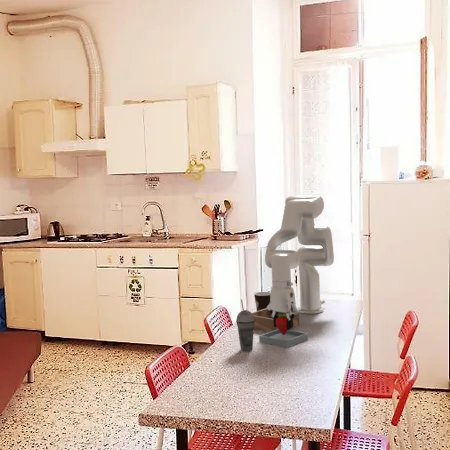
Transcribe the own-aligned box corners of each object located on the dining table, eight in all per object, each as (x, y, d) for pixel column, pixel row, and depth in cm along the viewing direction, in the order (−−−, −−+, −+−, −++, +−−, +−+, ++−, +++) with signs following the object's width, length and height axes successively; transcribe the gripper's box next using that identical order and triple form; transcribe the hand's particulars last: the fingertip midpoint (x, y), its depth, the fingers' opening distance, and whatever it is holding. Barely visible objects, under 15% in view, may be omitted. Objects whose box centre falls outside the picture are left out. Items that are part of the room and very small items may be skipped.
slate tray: (281, 333, 251) (280, 328, 251) (308, 339, 241) (307, 333, 241) (259, 341, 241) (259, 335, 241) (286, 347, 231) (286, 341, 231)
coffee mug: (273, 315, 282) (272, 295, 281) (255, 316, 282) (254, 295, 281) (272, 310, 293) (271, 290, 292) (254, 310, 293) (253, 290, 292)
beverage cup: (254, 352, 227) (252, 301, 225) (235, 352, 228) (233, 301, 226) (257, 347, 234) (255, 297, 232) (239, 346, 235) (236, 297, 233)
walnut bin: (270, 319, 275) (270, 307, 274) (299, 325, 263) (299, 311, 262) (246, 327, 263) (246, 314, 262) (275, 333, 251) (275, 319, 251)
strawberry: (273, 336, 239) (272, 312, 238) (279, 331, 246) (278, 308, 245) (287, 337, 236) (286, 313, 235) (293, 332, 243) (292, 308, 242)
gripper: (304, 284, 236) (306, 329, 237) (271, 280, 248) (272, 322, 249) (293, 288, 230) (294, 333, 232) (259, 283, 242) (261, 326, 244)
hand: (283, 327), depth 241 cm, fingers closed on strawberry, 6 cm apart
